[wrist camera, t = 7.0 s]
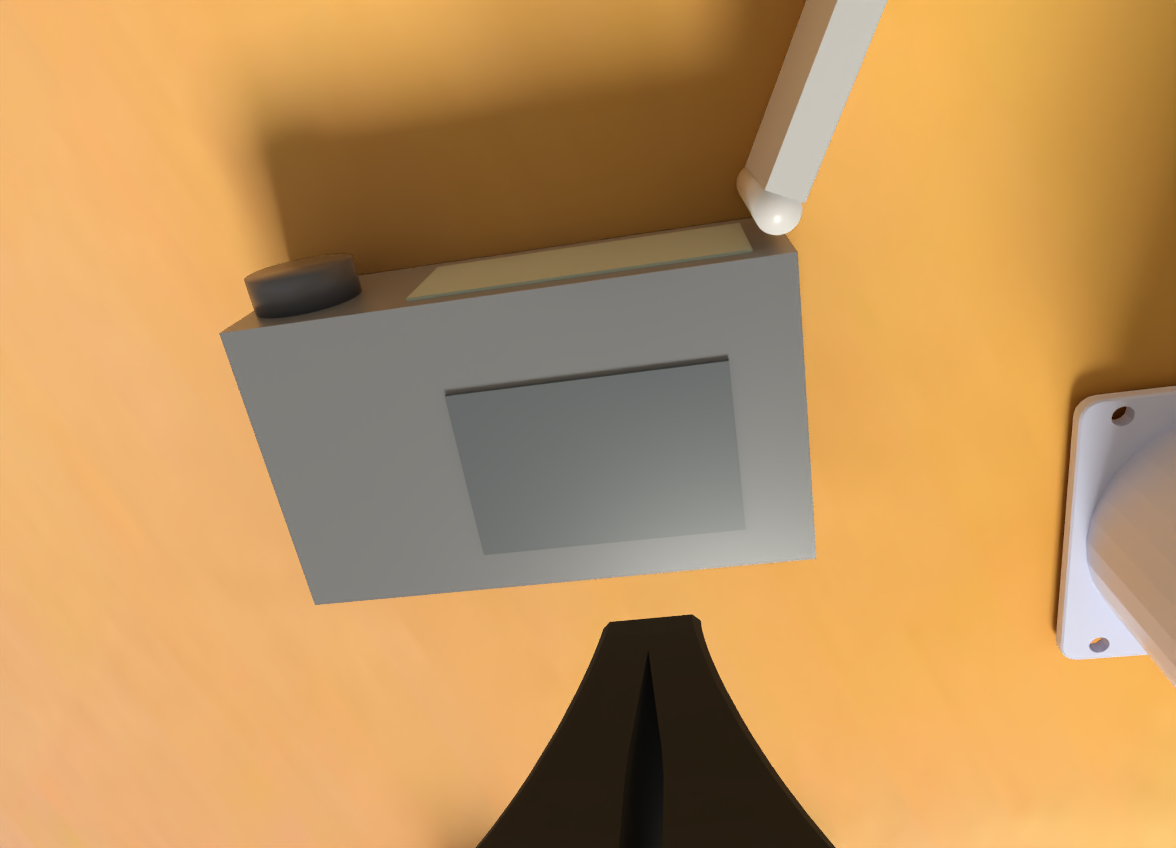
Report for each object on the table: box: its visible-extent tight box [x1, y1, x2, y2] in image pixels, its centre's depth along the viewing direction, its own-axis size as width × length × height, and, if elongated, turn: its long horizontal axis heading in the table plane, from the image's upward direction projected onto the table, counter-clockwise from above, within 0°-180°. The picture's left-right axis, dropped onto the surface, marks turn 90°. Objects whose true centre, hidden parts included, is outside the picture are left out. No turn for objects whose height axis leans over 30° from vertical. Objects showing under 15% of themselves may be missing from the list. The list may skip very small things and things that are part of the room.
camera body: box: [219, 217, 816, 605], centre depth 20 cm, size 12×8×4 cm, turn 99°
